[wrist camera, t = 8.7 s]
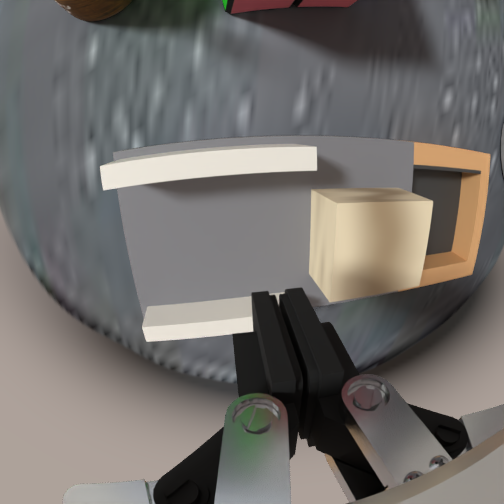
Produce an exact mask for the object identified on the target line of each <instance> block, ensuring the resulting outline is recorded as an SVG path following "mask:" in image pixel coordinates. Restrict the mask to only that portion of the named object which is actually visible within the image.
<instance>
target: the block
mask: <svg viewBox="0 0 504 504" xmlns="http://www.w3.org/2000/svg"><path fill="white" fill-rule="evenodd" d="M432 208H433V201H432V200H430V199H427V198H424V197H422V196H419V195H417V194H414V193H411V192H409V191H406V190H403V189H400V188H335V189H311V230H310V259H309V274H310V276H311V277H312V279H313V280H314V281H315V283H316V284H317V285H318V287H319V288H320V290H321V291H322V292H323V294H324V295H325V296H326V298H327V299H328V301H329V302H336V301H342V300H348V299H354V298H360V297H365V296H371V295H376V294H382V293H387V292H392V291H397V290H402V289H407V288H412V287H417V286H419V284H420V280H421V275H422V270H423V265H424V260H425V255H426V249H427V244H428V237H429V231H430V224H431V216H432Z"/></svg>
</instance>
